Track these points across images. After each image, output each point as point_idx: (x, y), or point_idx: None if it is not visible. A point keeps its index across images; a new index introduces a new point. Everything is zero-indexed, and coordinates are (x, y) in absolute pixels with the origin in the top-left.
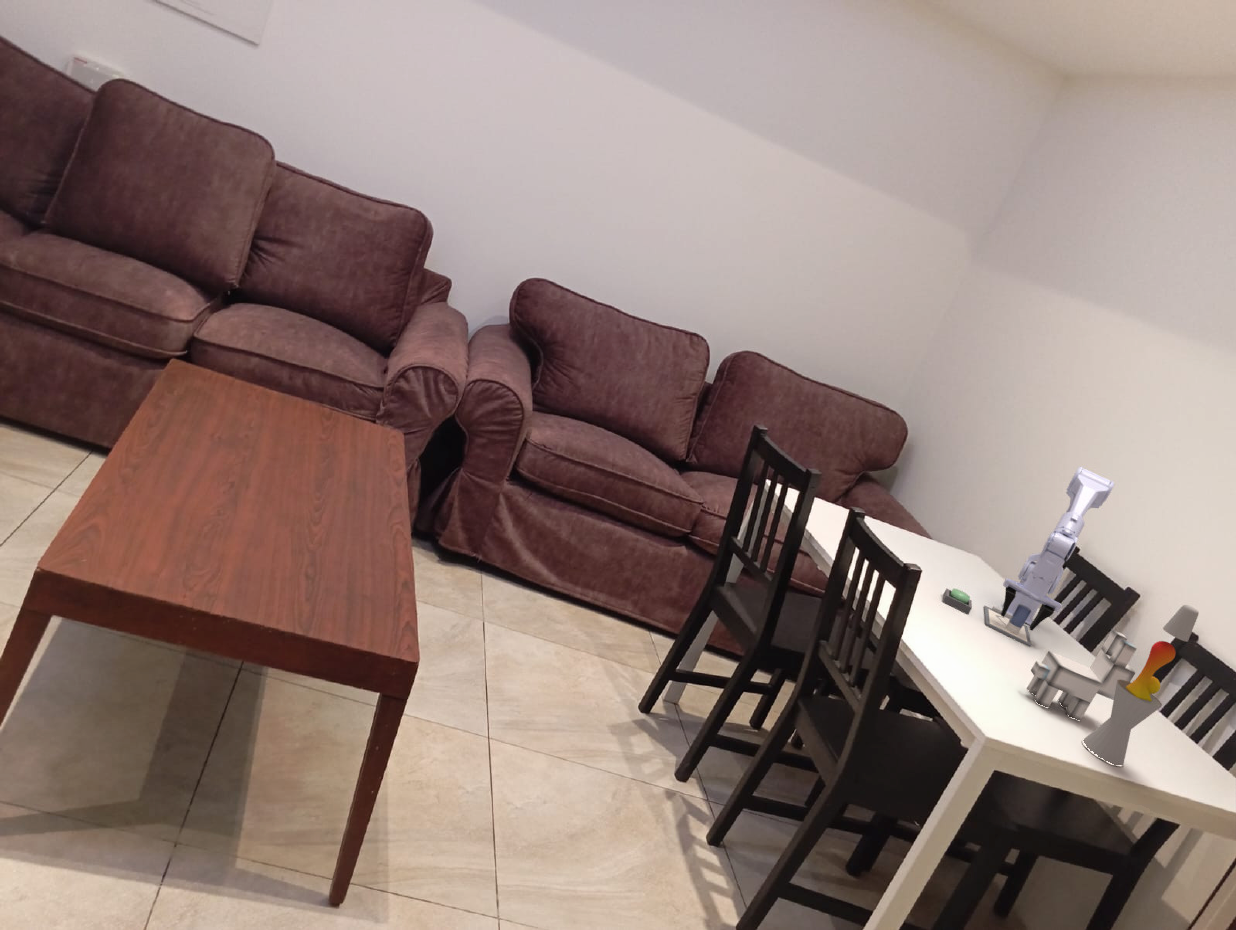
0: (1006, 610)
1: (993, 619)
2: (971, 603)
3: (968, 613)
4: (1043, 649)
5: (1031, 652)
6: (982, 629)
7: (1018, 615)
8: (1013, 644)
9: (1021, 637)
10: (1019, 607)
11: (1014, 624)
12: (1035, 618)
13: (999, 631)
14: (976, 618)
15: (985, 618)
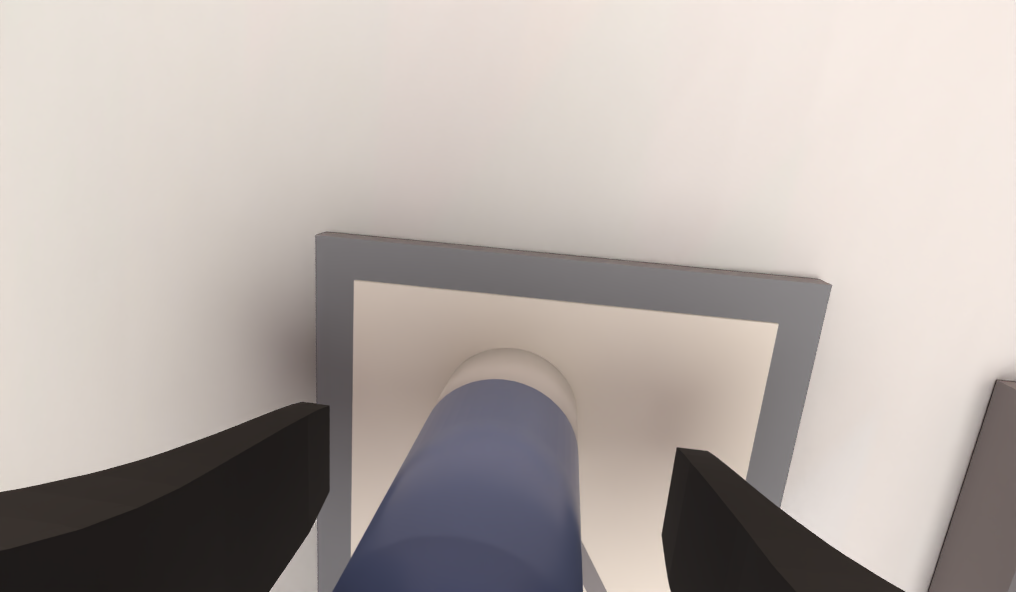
0: (722, 484)
1: None
2: (1012, 584)
3: (1008, 385)
4: (191, 360)
5: (321, 68)
6: (905, 64)
7: (529, 459)
8: (524, 49)
9: (412, 335)
10: (565, 583)
11: (527, 388)
12: (248, 581)
13: (656, 264)
14: (893, 378)
15: (791, 451)
